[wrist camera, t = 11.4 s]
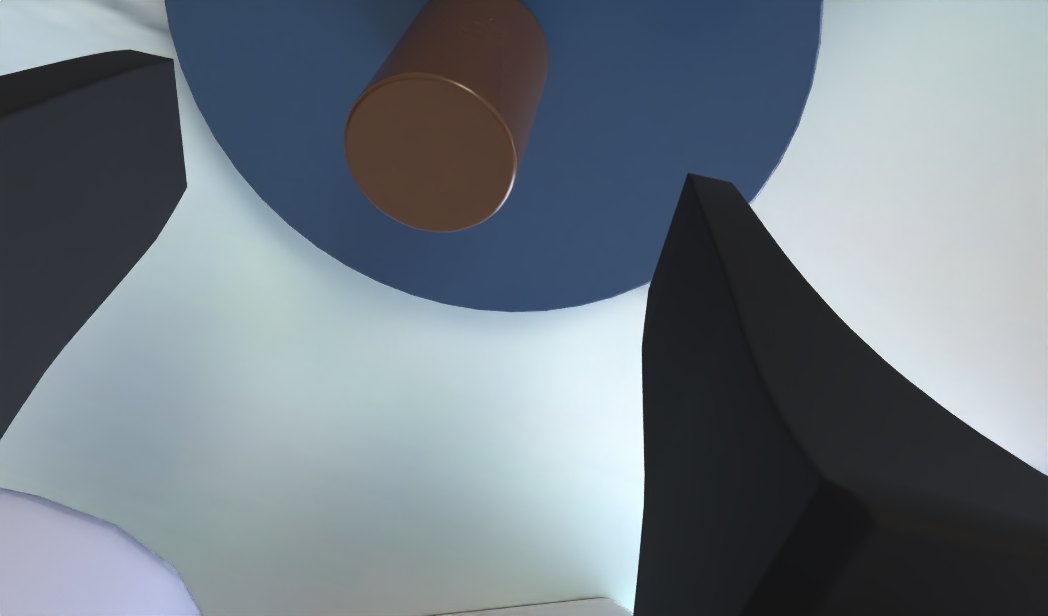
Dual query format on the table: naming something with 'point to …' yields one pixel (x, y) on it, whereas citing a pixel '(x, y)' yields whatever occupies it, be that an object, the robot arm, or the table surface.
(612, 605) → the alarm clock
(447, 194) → the lid
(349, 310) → the table surface
